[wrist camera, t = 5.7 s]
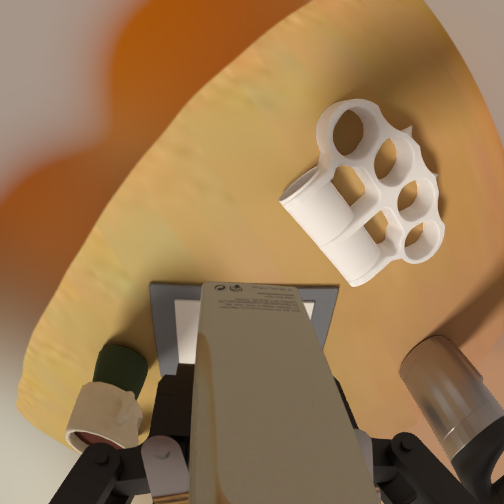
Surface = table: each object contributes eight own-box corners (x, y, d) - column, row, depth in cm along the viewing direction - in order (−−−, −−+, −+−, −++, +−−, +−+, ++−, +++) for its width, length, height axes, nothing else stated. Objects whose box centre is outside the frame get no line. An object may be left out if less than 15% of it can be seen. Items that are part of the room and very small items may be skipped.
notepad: (337, 287, 30) (339, 290, 30) (313, 374, 35) (315, 378, 35) (149, 282, 28) (148, 286, 27) (161, 374, 33) (160, 379, 32)
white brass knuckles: (251, 170, 25) (368, 74, 22) (359, 295, 32) (448, 212, 29) (255, 176, 22) (386, 69, 19) (371, 311, 29) (466, 221, 26)
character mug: (127, 393, 34) (109, 474, 22) (83, 364, 32) (51, 444, 20) (172, 353, 32) (160, 450, 20) (121, 317, 29) (84, 412, 17)
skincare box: (200, 277, 13) (182, 614, 2) (299, 283, 13) (418, 570, 2) (198, 379, 15) (196, 599, 4) (276, 381, 16) (320, 590, 4)
